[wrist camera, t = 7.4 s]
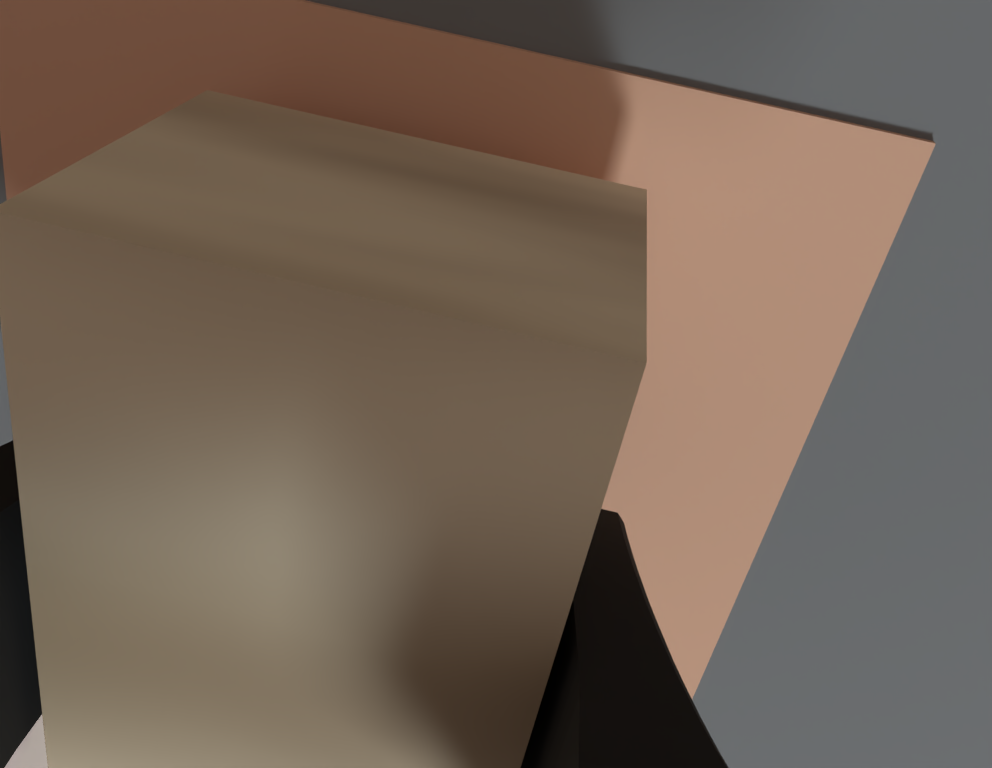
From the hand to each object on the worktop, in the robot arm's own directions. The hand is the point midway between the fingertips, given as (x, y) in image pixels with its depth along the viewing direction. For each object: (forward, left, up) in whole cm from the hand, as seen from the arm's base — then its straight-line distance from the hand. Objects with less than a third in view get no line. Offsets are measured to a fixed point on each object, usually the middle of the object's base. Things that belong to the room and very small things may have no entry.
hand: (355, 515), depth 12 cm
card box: (0, 0, -1) cm, 1 cm away
